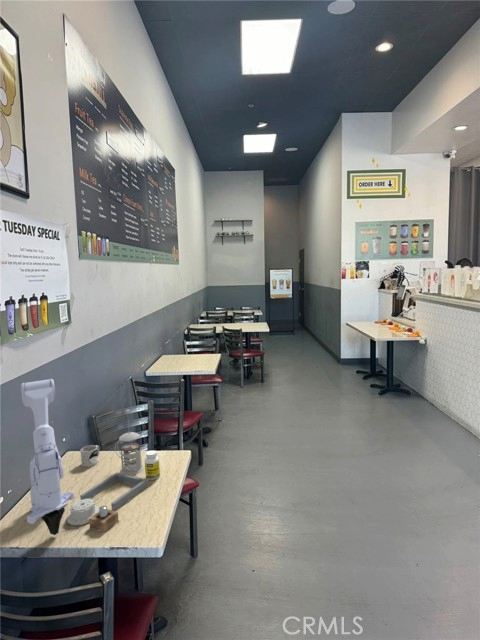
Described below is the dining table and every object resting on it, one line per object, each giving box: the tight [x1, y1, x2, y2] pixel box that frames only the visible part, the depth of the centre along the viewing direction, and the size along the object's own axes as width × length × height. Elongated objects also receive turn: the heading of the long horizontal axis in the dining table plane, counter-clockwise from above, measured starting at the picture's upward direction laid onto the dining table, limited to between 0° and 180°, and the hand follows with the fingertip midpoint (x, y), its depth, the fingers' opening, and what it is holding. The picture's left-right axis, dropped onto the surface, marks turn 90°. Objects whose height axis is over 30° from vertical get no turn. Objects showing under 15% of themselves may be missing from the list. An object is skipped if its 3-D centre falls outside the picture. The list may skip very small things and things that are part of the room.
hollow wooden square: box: [89, 508, 119, 533], centre depth 124 cm, size 6×6×3 cm
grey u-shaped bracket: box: [79, 472, 149, 511], centre depth 142 cm, size 15×17×2 cm
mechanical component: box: [66, 498, 100, 526], centre depth 129 cm, size 10×4×10 cm
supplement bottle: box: [144, 450, 161, 481], centre depth 153 cm, size 5×5×10 cm
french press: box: [114, 409, 145, 476], centre depth 160 cm, size 10×12×25 cm
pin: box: [99, 505, 108, 520], centre depth 123 cm, size 2×2×6 cm
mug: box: [79, 444, 100, 468], centre depth 170 cm, size 10×7×7 cm
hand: (54, 533), depth 119 cm, fingers closed
